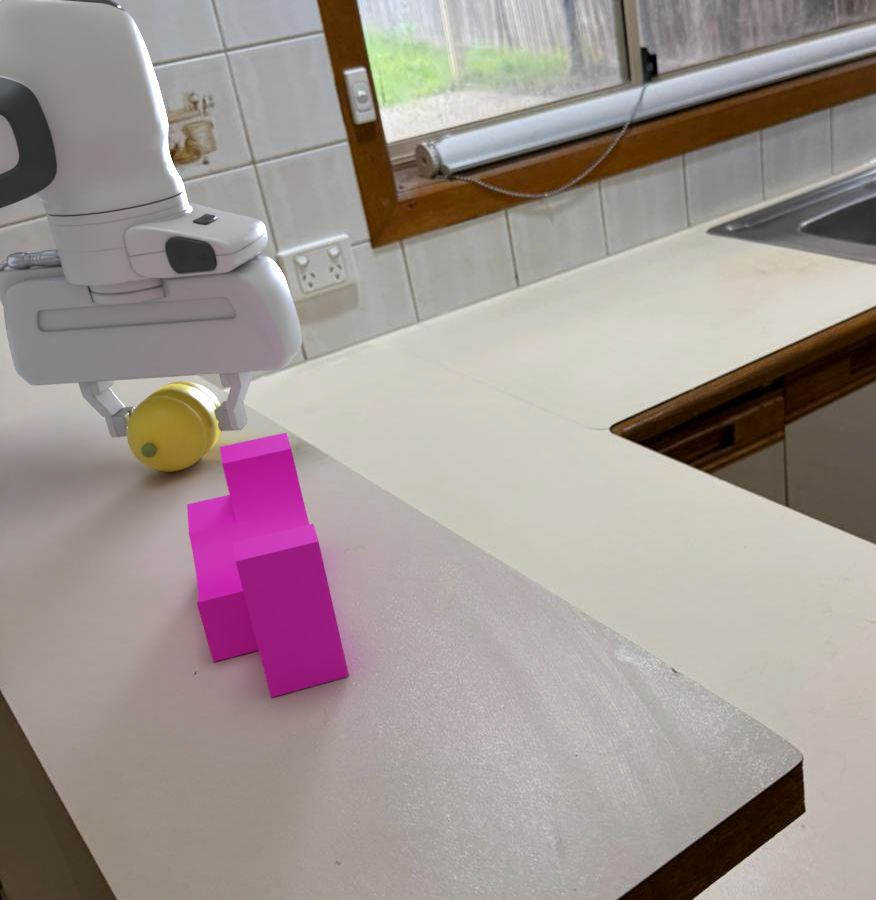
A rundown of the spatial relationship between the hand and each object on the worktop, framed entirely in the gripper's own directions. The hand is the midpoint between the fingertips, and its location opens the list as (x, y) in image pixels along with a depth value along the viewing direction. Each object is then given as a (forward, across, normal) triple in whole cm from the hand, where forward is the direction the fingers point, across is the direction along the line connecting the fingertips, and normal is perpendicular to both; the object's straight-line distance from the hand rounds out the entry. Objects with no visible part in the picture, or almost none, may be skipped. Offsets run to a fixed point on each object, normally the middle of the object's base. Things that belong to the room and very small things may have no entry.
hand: (180, 431), depth 82 cm
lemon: (+2, 0, 0) cm, 2 cm away
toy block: (+2, +15, -22) cm, 27 cm away
